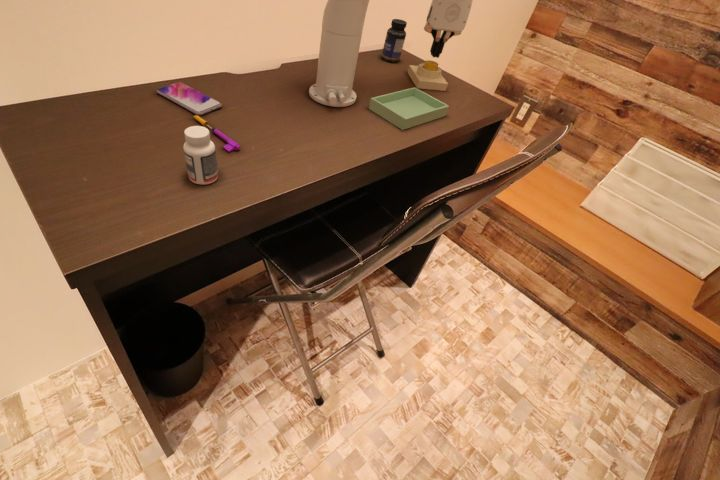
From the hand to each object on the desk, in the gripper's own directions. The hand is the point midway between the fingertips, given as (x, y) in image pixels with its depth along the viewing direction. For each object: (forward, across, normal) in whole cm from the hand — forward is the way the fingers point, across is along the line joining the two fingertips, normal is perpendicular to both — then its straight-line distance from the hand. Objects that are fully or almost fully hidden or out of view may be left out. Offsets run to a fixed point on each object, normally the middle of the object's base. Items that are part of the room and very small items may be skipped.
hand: (434, 55), depth 106 cm
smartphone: (+7, -66, -26) cm, 71 cm away
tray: (+7, -12, -23) cm, 26 cm away
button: (+4, 0, 0) cm, 4 cm away
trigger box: (+7, 0, 0) cm, 7 cm away
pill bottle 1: (+7, -59, -56) cm, 82 cm away
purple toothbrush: (+7, -59, -41) cm, 72 cm away
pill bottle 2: (+7, -8, +16) cm, 19 cm away
